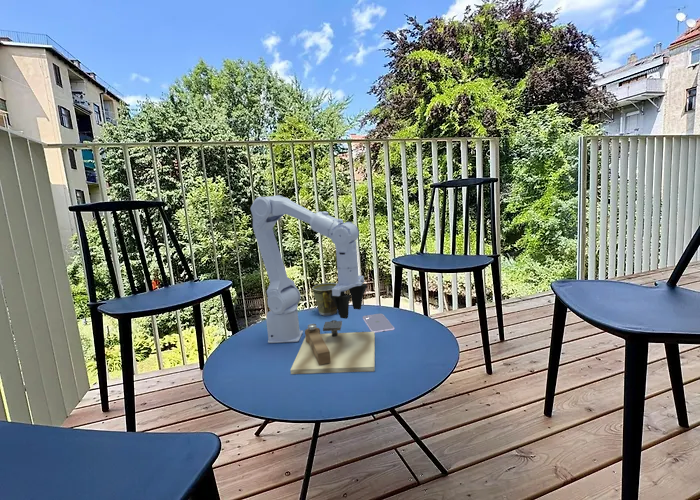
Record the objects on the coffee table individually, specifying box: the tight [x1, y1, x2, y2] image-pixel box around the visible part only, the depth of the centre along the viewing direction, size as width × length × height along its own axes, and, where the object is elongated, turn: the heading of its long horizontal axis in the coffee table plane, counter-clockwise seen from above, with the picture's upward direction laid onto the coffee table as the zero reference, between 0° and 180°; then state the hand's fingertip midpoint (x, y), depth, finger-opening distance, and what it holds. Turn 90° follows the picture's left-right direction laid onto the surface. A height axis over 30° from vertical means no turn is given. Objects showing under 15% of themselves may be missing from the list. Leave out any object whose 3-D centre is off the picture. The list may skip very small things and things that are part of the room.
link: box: [304, 326, 331, 365], centre depth 102 cm, size 18×4×3 cm, turn 16°
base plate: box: [290, 331, 376, 375], centre depth 103 cm, size 21×22×1 cm
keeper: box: [307, 319, 343, 337], centre depth 110 cm, size 10×6×5 cm, turn 86°
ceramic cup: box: [312, 282, 338, 317], centre depth 134 cm, size 13×10×10 cm
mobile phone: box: [362, 313, 395, 334], centre depth 123 cm, size 8×1×15 cm
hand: (350, 313), depth 105 cm, fingers open, 7 cm apart
